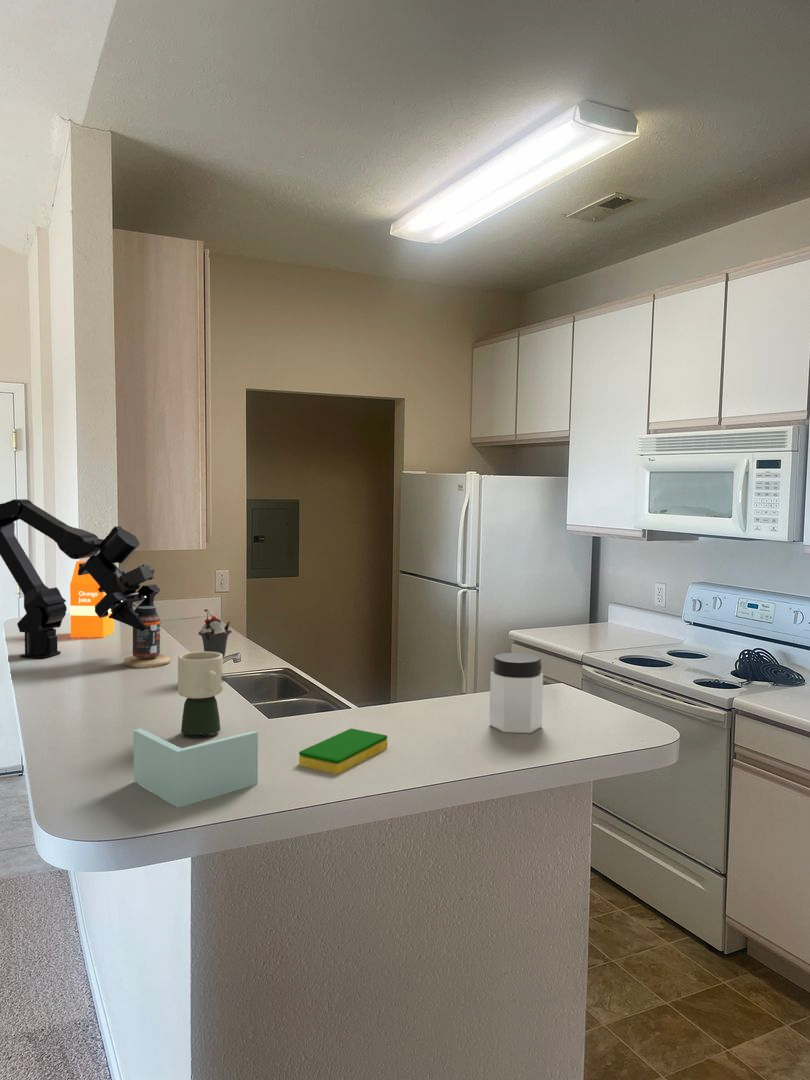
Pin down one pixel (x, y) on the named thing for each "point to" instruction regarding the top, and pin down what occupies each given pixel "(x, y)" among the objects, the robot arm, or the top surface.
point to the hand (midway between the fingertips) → (151, 627)
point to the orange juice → (87, 607)
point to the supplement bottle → (147, 634)
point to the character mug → (200, 691)
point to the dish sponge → (343, 750)
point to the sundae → (215, 636)
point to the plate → (147, 661)
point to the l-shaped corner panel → (195, 766)
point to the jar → (516, 693)
